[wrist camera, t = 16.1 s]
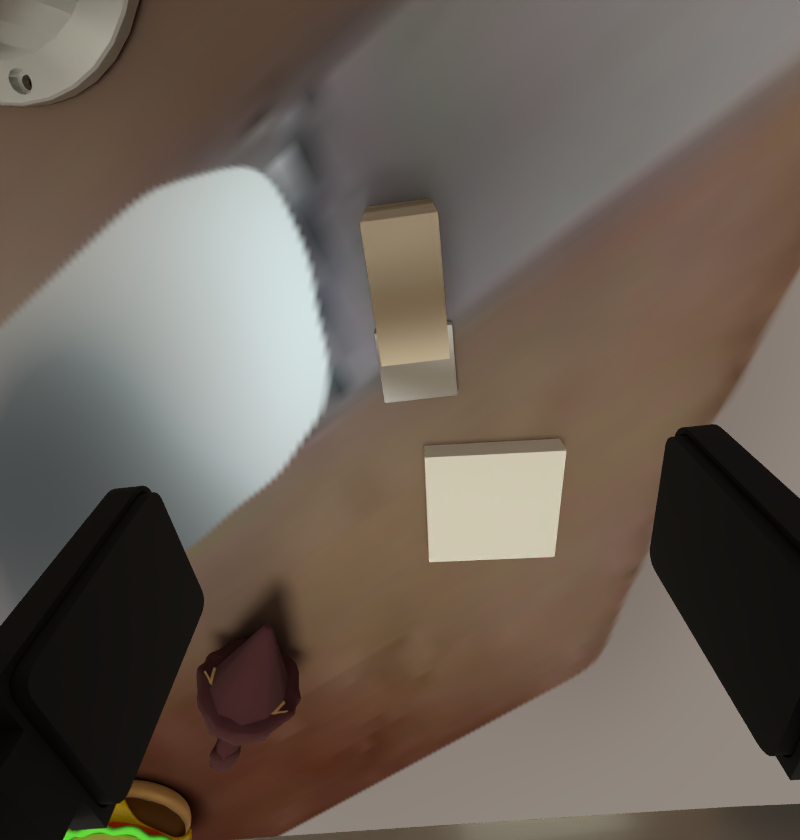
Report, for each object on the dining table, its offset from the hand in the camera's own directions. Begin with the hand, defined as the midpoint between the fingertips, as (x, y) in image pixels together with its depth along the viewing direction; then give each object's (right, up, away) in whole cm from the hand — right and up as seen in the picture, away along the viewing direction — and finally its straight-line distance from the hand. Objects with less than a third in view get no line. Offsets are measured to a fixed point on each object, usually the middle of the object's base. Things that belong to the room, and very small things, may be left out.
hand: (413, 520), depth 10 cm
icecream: (-11, -15, +30) cm, 35 cm away
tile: (+5, 0, +20) cm, 21 cm away
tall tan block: (0, +8, +17) cm, 18 cm away
